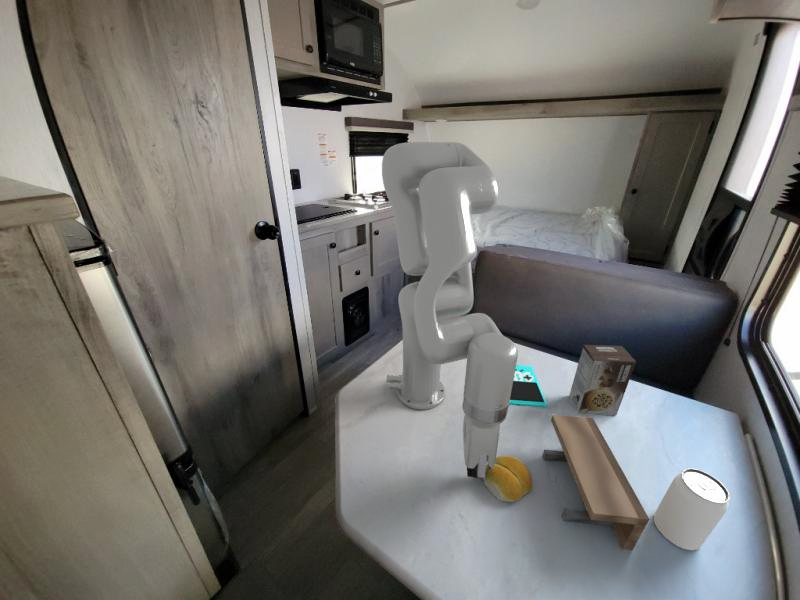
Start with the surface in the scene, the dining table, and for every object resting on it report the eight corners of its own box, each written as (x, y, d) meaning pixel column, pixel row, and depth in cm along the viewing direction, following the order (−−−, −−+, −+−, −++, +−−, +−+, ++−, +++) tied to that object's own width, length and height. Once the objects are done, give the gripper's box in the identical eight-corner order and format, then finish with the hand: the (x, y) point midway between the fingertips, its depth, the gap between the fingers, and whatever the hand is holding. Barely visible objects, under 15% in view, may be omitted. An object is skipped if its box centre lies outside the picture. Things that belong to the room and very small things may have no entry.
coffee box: (604, 397, 83) (622, 345, 76) (617, 416, 77) (638, 361, 70) (567, 395, 84) (582, 343, 77) (577, 413, 78) (594, 359, 71)
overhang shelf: (570, 543, 53) (583, 512, 49) (537, 442, 71) (544, 414, 67) (632, 550, 52) (649, 519, 48) (582, 446, 70) (592, 417, 66)
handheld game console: (531, 369, 94) (532, 365, 94) (547, 409, 80) (548, 405, 80) (496, 367, 96) (497, 363, 95) (506, 406, 81) (507, 402, 81)
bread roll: (538, 485, 62) (542, 471, 60) (508, 512, 57) (511, 498, 56) (504, 454, 68) (507, 441, 66) (474, 476, 64) (476, 463, 62)
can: (643, 512, 57) (667, 467, 52) (677, 509, 58) (704, 464, 52) (674, 554, 51) (705, 508, 46) (711, 550, 52) (746, 504, 46)
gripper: (460, 373, 62) (454, 440, 70) (465, 436, 48) (457, 510, 56) (500, 375, 61) (489, 443, 69) (516, 440, 47) (500, 515, 55)
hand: (475, 473), depth 63 cm, fingers closed
